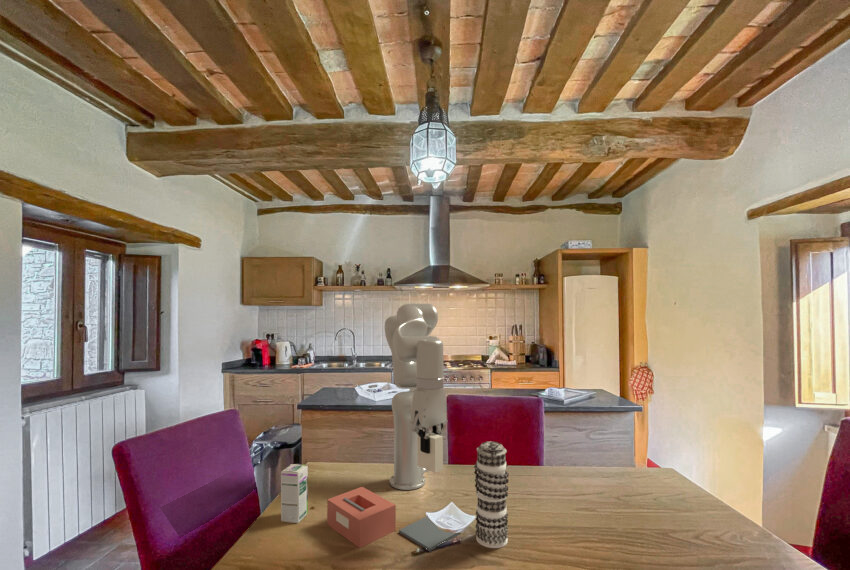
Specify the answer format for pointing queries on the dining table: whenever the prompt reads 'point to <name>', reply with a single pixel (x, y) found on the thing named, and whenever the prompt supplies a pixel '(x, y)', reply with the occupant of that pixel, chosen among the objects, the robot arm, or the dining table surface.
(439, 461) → the cream upright pillar
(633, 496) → the dining table surface
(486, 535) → the white patterned cylinder
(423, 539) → the coaster
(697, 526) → the dining table surface
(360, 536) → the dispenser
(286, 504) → the syrup box
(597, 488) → the dining table surface
